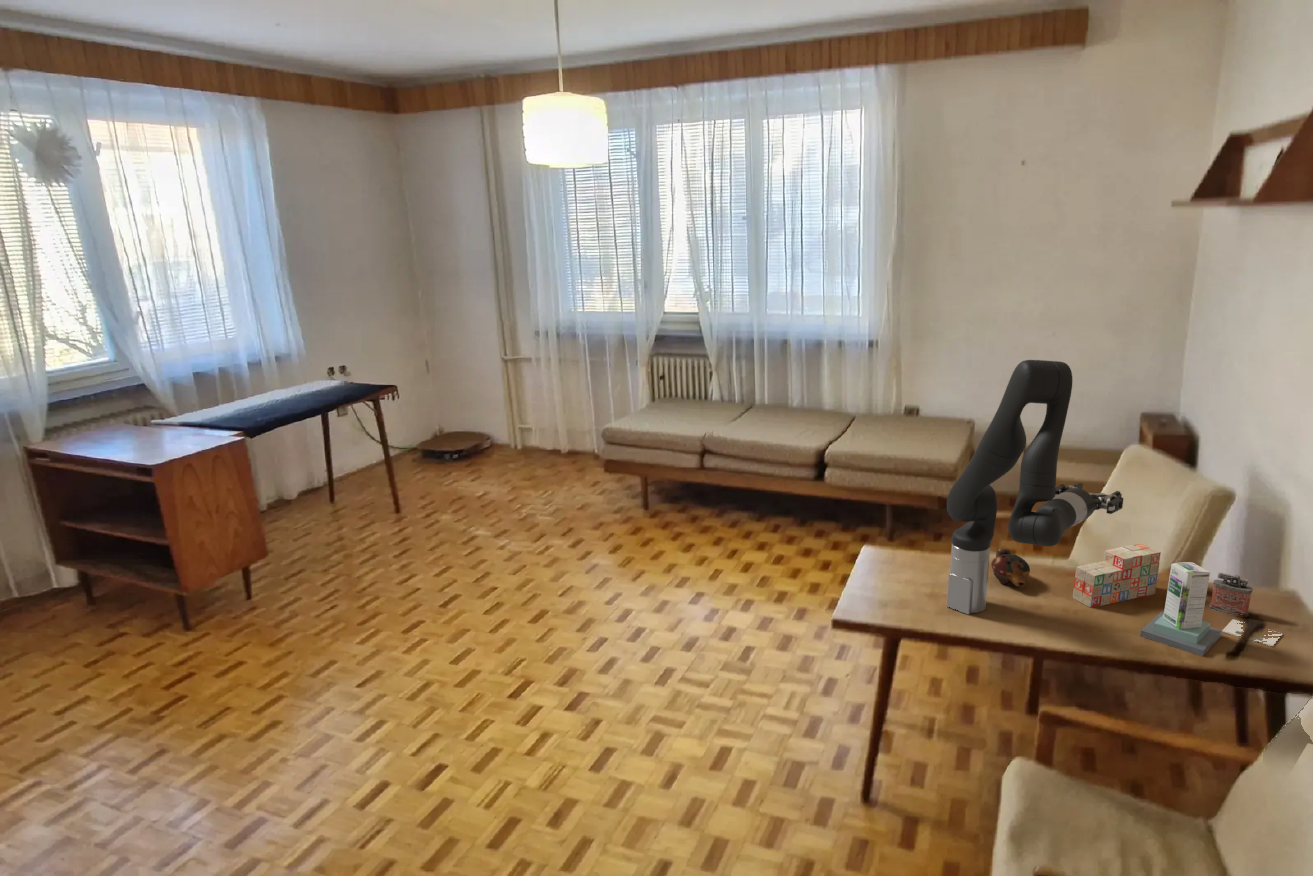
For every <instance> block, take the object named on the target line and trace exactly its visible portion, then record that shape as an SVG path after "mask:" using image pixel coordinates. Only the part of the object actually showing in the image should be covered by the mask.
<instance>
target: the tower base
mask: <svg viewBox="0 0 1313 876" xmlns="http://www.w3.org/2000/svg"><path fill="white" fill-rule="evenodd" d="M1163 616H1164V611H1160V612H1159V613H1158V614H1157V615H1155V617H1154V618H1153V619H1152V620H1150V622H1147V624H1146V625H1145V626H1144V627H1142V628H1141V630H1140V634H1139V636H1140V637H1142V638H1145V639H1149V640H1150V641H1155V642H1157V643H1161V644H1164V645H1166V646H1168V647H1173V648H1175V649H1179V650H1180V651H1184V652H1188V653H1191V654H1193V655H1197V656H1200V657H1203V656H1205V654H1206V653H1207V652H1208V651H1209V650H1210V649H1211V648H1212V647H1213V646H1214V644H1215V643H1216V642H1218V640H1219V639H1220V638H1221V637H1222V634H1223V632H1222V630H1223V629H1222V630H1221V629H1219V628H1215V627H1212V626H1211V622H1209V621H1206V620H1203V619H1202V624H1201V627H1198V628H1189V629H1178V628H1177V627H1175V626H1174V625H1173V624H1171V623H1170V622H1168V621H1167V620H1165V619H1163Z"/></svg>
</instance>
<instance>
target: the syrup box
mask: <svg viewBox="0 0 1313 876" xmlns="http://www.w3.org/2000/svg"><path fill="white" fill-rule="evenodd" d="M1210 577H1211V571H1209V570H1206V569H1205V568H1203V567H1201V566H1199V565H1198V564H1196V563H1194V562H1191V561H1189V562H1188V561H1186V562H1185V561H1183V562H1174V563H1171V566H1170V572H1169V579H1168V585H1167V591H1166V599H1165V604H1164V610H1163V613H1164V616H1163V619H1165V620H1167V621H1168V622H1170V623H1171V624H1173V625H1174V626H1175V627H1177V628H1178V629H1189V628H1198V627H1201V624H1202V620H1203V617H1204V611H1205V606H1206V605H1205V604H1206V599H1207V592H1208V587H1209V582H1210Z"/></svg>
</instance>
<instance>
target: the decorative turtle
mask: <svg viewBox="0 0 1313 876" xmlns="http://www.w3.org/2000/svg"><path fill="white" fill-rule="evenodd" d="M991 569H992V571H993V575H994V576H995V577H996V578H997V577H998V578H997V580H998V582H999V583H1000V585H1006V584H1008V582H1011V583H1012V584H1013V585H1014V586H1016V587H1017V588H1024V587H1025V586H1026V584H1027V581H1026V580H1027V578H1028V576H1030V575H1029V574H1030V573H1031V568H1030V565H1029V563H1028V562H1027V561H1026V560H1025V559H1024V558H1022V557H1021V556H1020V555H1016V554H1015V553H1012V552H1011V550H1010V549H1009V548H1008V547H1005V546H999V548H997V549H996V553H995V557H994V558H993V559H992V560H991Z"/></svg>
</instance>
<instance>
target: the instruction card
mask: <svg viewBox="0 0 1313 876" xmlns="http://www.w3.org/2000/svg"><path fill="white" fill-rule="evenodd" d="M1243 622H1244V621H1241V622H1240V620H1238V619H1235V618H1232V619H1231V620H1230V622H1229V623H1228V624H1227V625H1226V626H1225V627H1223V629H1222V633H1224V634H1225V633H1226V634H1228V635H1232V636H1235V637H1238V636H1241V635H1242V632H1244V631H1243V629H1241V627H1243V625H1241V624H1239V623H1243ZM1237 623H1238V624H1237ZM1272 631H1274V632H1276V631H1275V630H1272ZM1272 631H1268V632H1272ZM1280 633H1281V632H1280ZM1264 636H1266V635H1264ZM1268 636H1281V637H1282V636H1283V633H1281V634H1272V635H1269V634H1268ZM1281 637H1278V638H1273V637H1272V638H1268V639H1265V638H1263V639H1262V638H1255V639H1256V640H1254V641H1259V642H1262V641H1267V642H1263V644H1262V645H1264V644H1266V645H1265V646H1267V645H1268V646H1267V647H1270V646H1273V647H1274V646H1275V645H1276V644H1277V642H1278V641H1279V640H1280V638H1281ZM1278 639H1279V640H1278ZM1254 641H1253V642H1254ZM1276 641H1277V642H1276ZM1274 644H1275V645H1274Z"/></svg>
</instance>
